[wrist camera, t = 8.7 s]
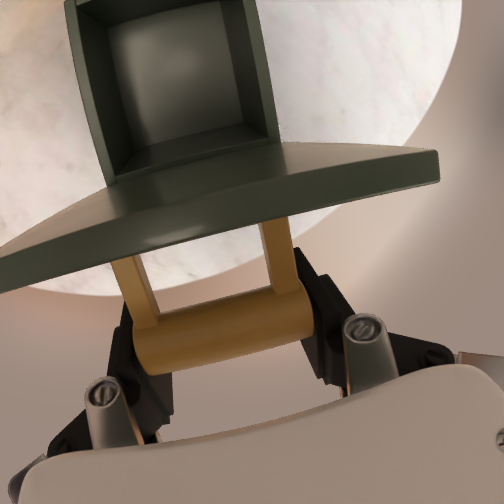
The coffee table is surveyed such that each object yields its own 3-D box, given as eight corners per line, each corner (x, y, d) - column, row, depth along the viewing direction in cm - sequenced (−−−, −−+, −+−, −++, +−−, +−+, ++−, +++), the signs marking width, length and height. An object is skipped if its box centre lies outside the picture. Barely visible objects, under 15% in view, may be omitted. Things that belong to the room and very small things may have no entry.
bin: (99, 25, 21) (63, 1, 12) (225, -6, 22) (245, -45, 13) (130, 158, 28) (108, 191, 19) (252, 128, 29) (281, 147, 20)
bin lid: (-39, 273, 5) (51, 428, 7) (439, 149, 6) (436, 333, 8) (105, 187, 19) (127, 261, 20) (282, 142, 20) (296, 218, 21)
